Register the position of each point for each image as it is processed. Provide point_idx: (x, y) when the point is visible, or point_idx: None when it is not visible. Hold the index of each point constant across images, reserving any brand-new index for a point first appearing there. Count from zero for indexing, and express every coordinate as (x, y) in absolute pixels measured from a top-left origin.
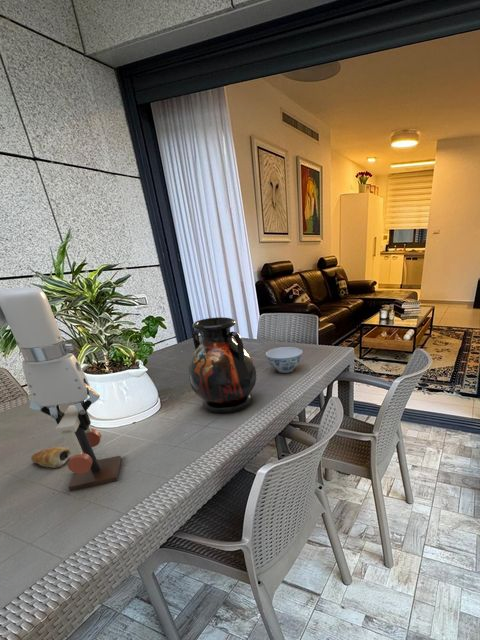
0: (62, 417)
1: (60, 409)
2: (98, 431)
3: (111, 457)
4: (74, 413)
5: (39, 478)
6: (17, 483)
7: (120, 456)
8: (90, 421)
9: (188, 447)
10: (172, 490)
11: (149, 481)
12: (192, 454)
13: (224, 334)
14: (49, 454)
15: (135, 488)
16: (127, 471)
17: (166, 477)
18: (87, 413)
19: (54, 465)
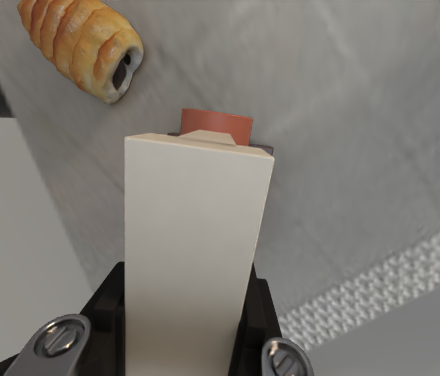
0: (124, 361)
1: (80, 356)
2: (250, 120)
3: (250, 146)
4: (198, 340)
5: (84, 132)
6: (39, 128)
7: (272, 152)
8: (265, 280)
9: (432, 179)
10: (338, 311)
11: (309, 268)
12: (423, 217)
13: None
14: (79, 71)
15: (282, 276)
16: (276, 211)
17: (341, 272)
18: (278, 328)
19: (106, 102)
